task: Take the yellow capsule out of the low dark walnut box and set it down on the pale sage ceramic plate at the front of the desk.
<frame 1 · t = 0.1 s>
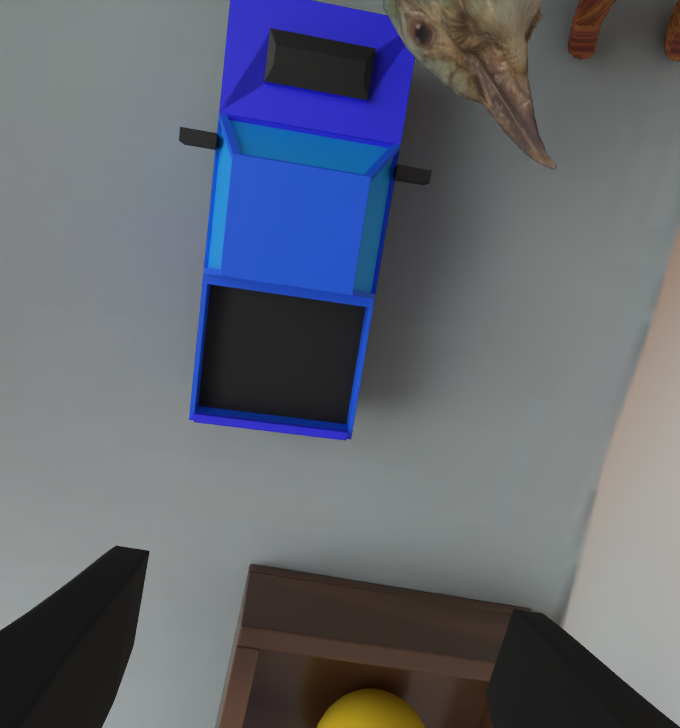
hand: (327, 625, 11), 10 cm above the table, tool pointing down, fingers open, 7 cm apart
yellow capsule: (359, 726, 23), resting on box
box: (358, 716, 23), on the table
toy car: (298, 233, 19), on the table
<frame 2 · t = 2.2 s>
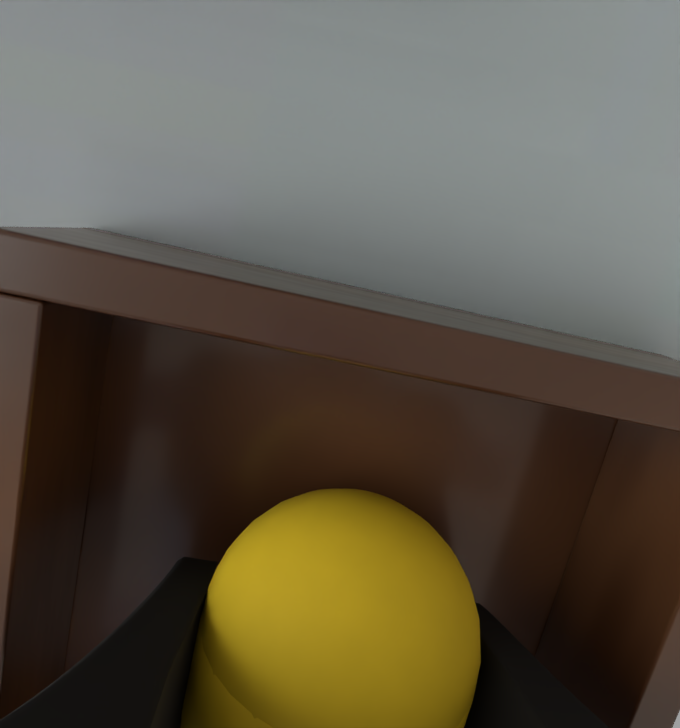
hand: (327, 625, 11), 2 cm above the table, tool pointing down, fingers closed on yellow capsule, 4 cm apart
yellow capsule: (322, 589, 12), resting on box, touching gripper
box: (323, 575, 12), on the table
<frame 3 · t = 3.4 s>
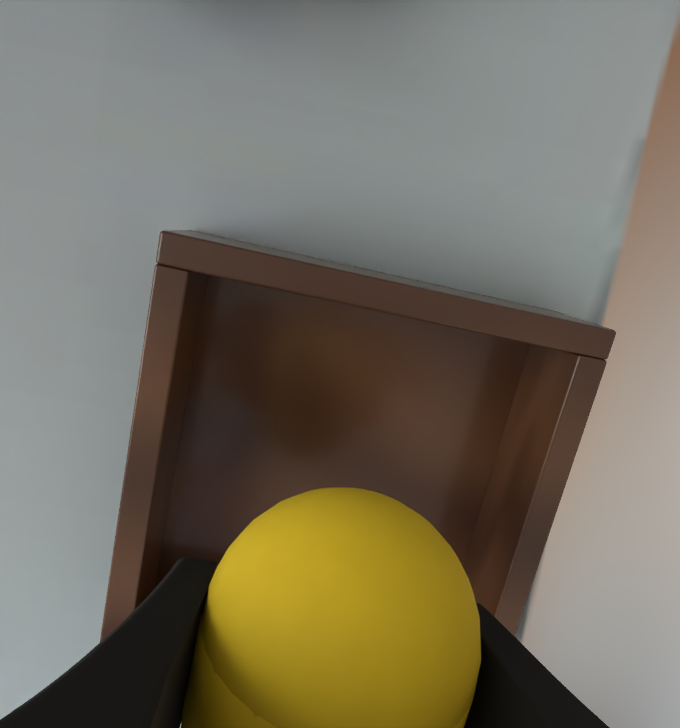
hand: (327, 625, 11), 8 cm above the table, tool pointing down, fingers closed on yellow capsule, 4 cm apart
yellow capsule: (323, 588, 12), point 7 cm above the table, touching gripper
box: (335, 461, 18), on the table
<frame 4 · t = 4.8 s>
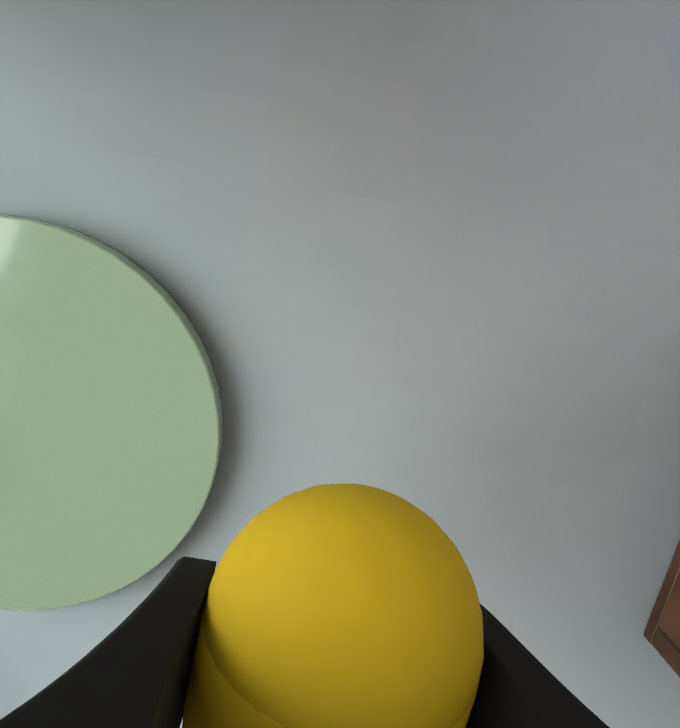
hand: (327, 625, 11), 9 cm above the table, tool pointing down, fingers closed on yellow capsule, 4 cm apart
plate: (21, 421, 18), on the table
yellow capsule: (324, 585, 12), point 8 cm above the table, touching gripper
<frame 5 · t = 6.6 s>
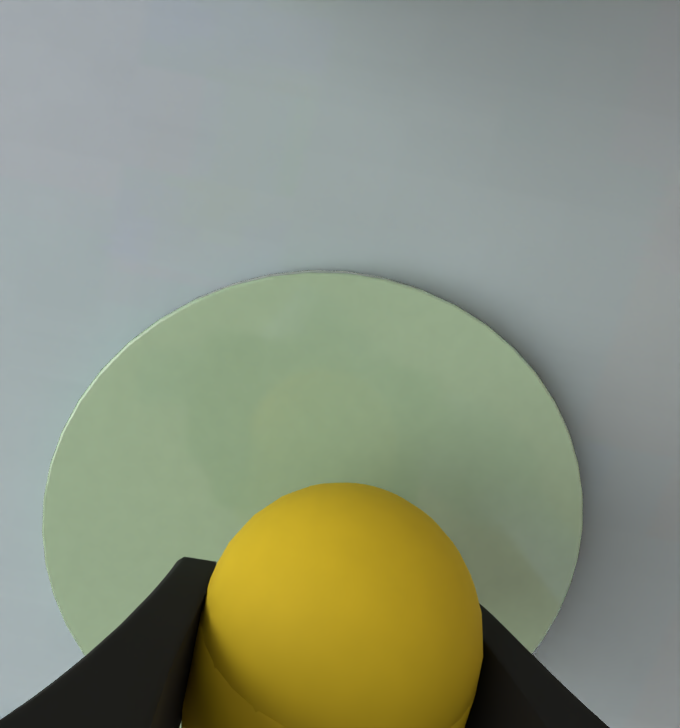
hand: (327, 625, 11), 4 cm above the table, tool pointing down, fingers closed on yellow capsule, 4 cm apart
plate: (320, 528, 14), on the table
yellow capsule: (324, 584, 12), point 3 cm above the table, touching gripper
when the fingers open (2 cm above the table, at t = 7.6 s): yellow capsule stays where it is, resting on plate.
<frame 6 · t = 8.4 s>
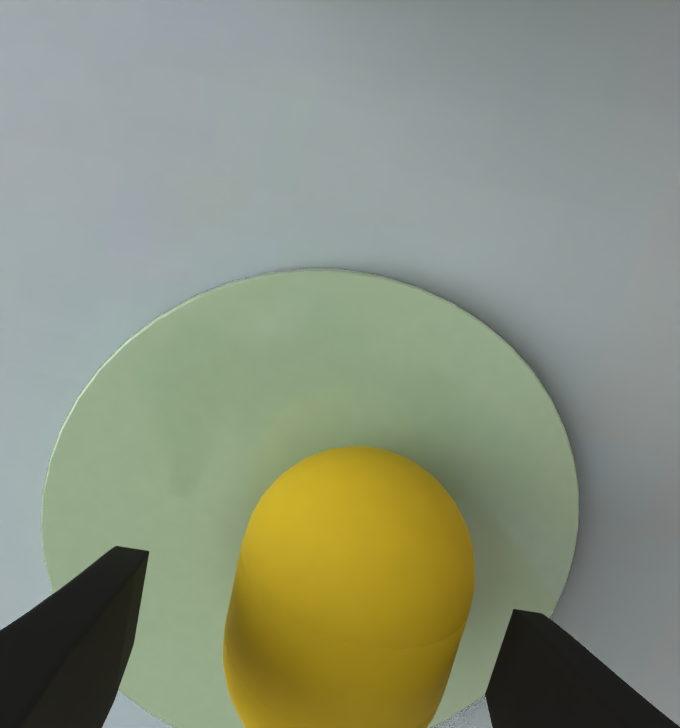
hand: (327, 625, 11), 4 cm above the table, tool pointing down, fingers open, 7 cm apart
plate: (318, 524, 14), on the table
yellow capsule: (318, 538, 13), point 1 cm above the table, tilted 12°, touching plate
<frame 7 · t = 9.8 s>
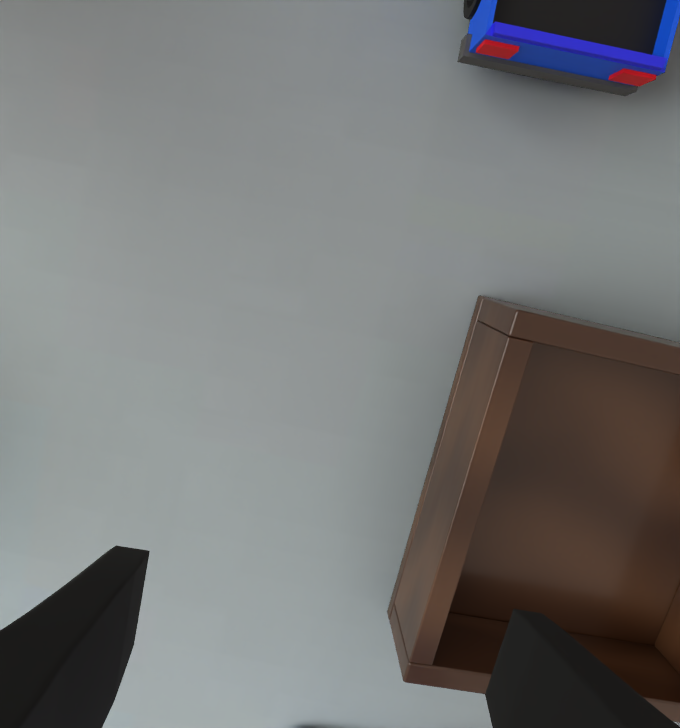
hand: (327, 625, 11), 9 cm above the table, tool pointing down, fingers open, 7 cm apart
box: (576, 492, 21), on the table
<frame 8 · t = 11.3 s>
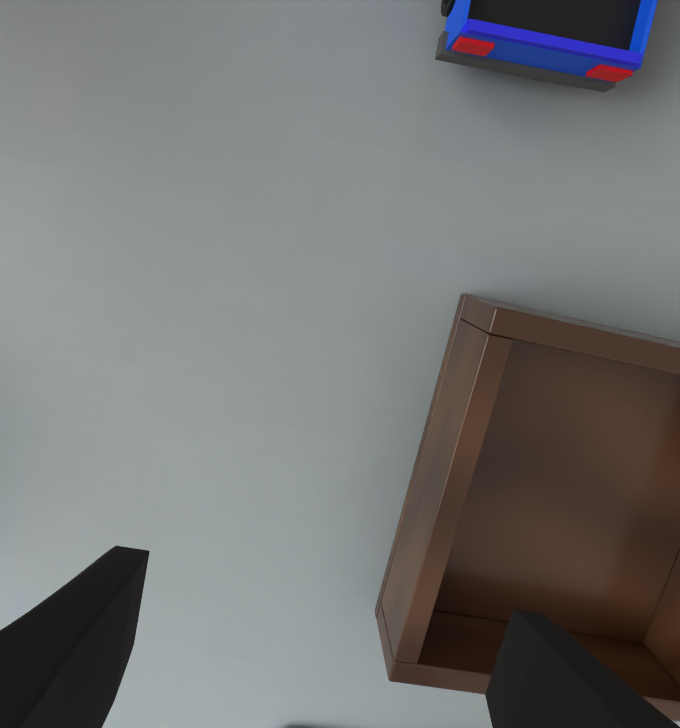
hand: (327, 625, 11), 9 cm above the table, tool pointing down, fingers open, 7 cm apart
box: (562, 490, 21), on the table
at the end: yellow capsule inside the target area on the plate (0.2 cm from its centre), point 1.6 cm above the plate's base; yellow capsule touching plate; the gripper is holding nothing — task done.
